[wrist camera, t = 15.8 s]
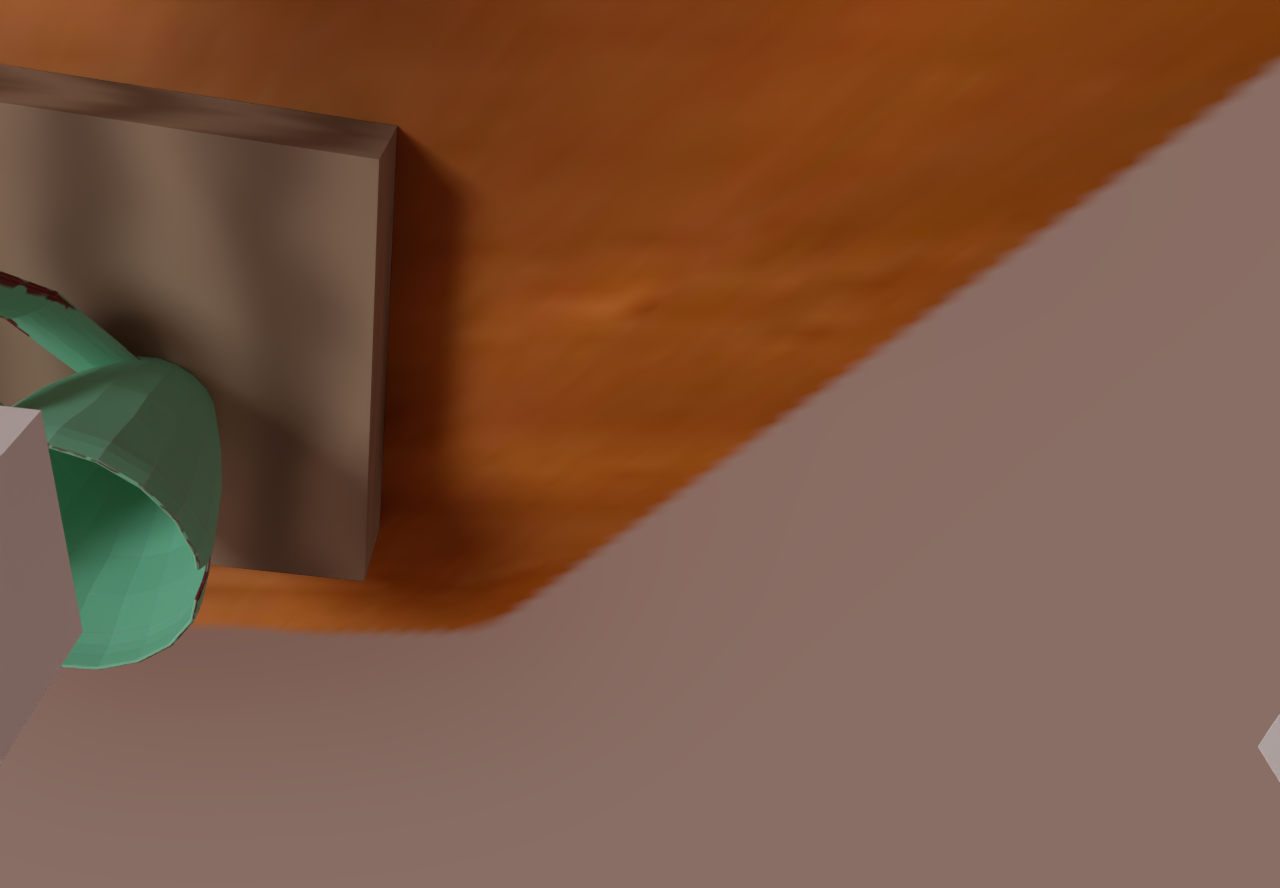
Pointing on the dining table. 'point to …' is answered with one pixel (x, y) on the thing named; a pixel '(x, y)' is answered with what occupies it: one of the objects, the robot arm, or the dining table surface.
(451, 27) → the dining table surface
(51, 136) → the plinth
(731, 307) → the dining table surface
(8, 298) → the mug
